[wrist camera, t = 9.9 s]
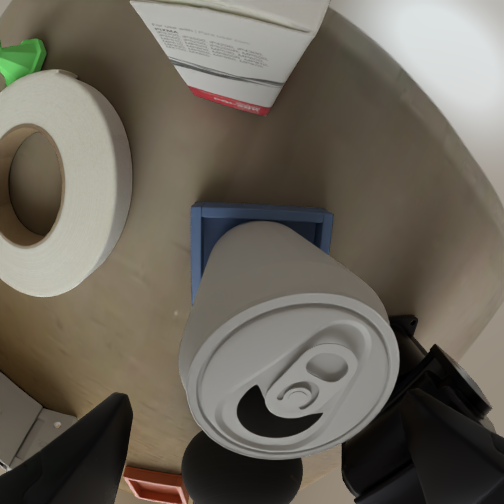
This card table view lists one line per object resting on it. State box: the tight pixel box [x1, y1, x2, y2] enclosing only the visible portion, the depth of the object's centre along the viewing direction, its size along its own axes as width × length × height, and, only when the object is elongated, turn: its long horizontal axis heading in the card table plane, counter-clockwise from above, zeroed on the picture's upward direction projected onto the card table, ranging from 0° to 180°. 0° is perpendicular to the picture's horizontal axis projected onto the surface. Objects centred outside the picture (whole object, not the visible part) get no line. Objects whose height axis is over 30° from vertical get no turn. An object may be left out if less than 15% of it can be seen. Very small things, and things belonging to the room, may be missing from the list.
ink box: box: [130, 0, 331, 116], centre depth 9 cm, size 9×5×12 cm, turn 160°
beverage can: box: [179, 220, 400, 460], centre depth 12 cm, size 6×6×12 cm
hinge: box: [0, 372, 78, 471], centre depth 18 cm, size 14×5×10 cm, turn 66°
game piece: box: [0, 38, 47, 86], centre depth 10 cm, size 4×4×6 cm
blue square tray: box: [191, 202, 334, 306], centre depth 18 cm, size 8×8×2 cm
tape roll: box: [0, 69, 132, 297], centre depth 15 cm, size 16×15×3 cm
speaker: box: [181, 430, 303, 504], centre depth 19 cm, size 10×10×10 cm
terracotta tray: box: [123, 466, 189, 504], centre depth 27 cm, size 7×7×2 cm
